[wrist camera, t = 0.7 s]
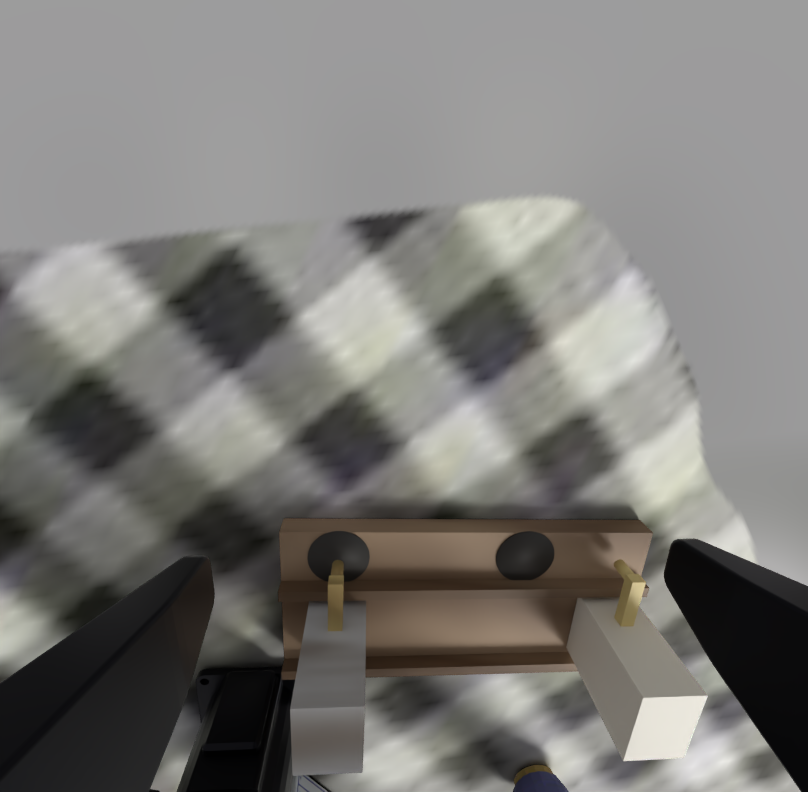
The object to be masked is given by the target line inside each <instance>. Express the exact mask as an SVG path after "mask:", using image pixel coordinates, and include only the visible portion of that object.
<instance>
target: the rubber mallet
mask: <svg viewBox="0 0 808 792" xmlns="http://www.w3.org/2000/svg"><path fill="white" fill-rule="evenodd" d="M514 783H515V787H514V790H513V792H568V790H567V789H566V787H565V786H564V785H563V784H562V783H561V781H560V780H559V779H558V778H557V777H556V775H554V774H553V773H552V771H551V769H550V768H548V767H546V766H544V765H532V766H529V767H526V768H524V769H522V770H521V771H520V772H518V773H517V775H516V777H515V778H514Z"/></svg>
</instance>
